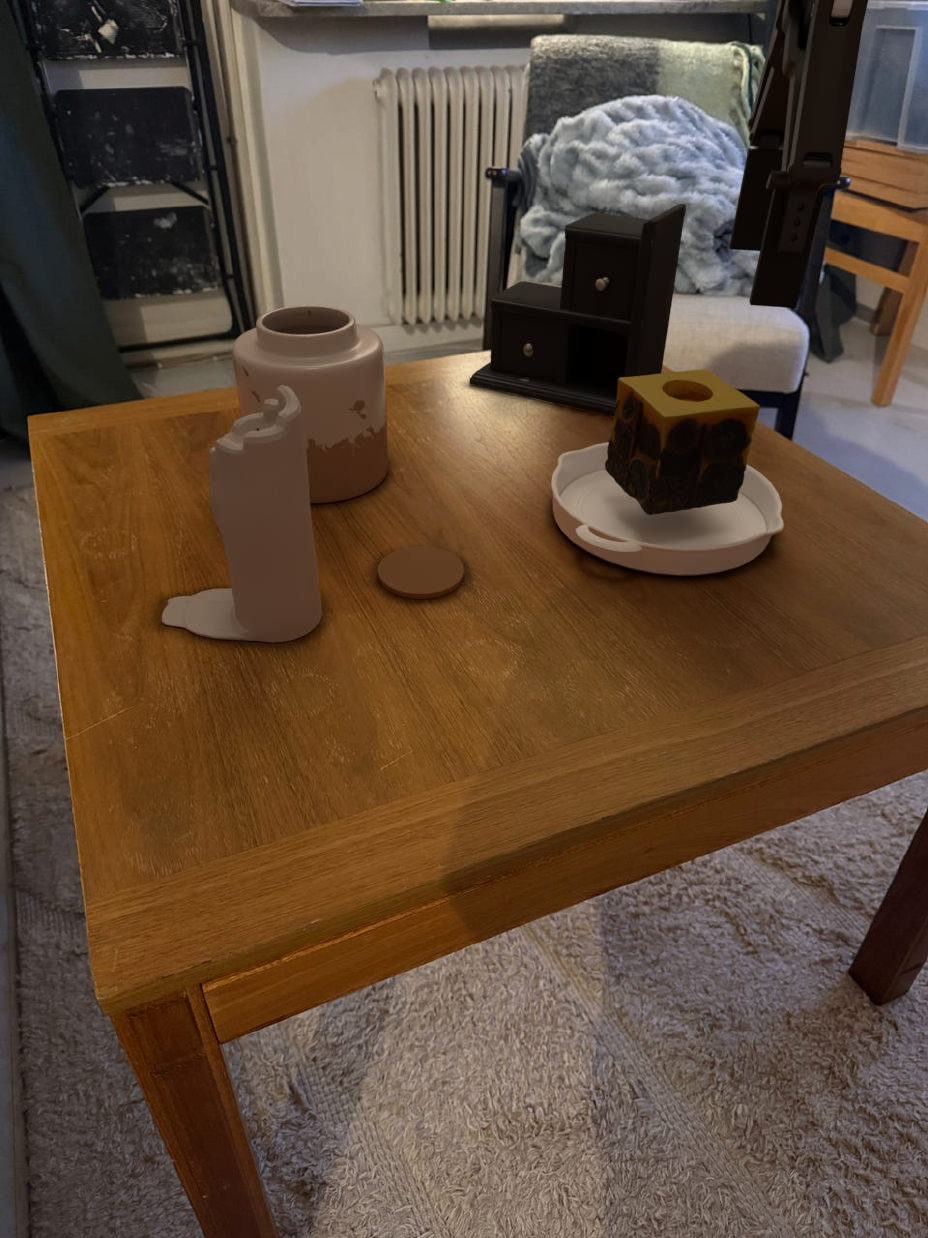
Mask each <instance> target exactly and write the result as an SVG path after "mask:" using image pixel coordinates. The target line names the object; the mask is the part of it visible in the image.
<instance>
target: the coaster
mask: <svg viewBox="0 0 928 1238" xmlns="http://www.w3.org/2000/svg"><path fill="white" fill-rule="evenodd" d="M377 579H378V581H379V583H380V585H381V586H382V588H384V590H386V591H388V592H389V593H391V594H393V595H396V596H397V597H402V598H404V599H410V600H411V599H413V600H428V599H429V600H430V599H435V598H439V597H443V596H446V595H449V594H450V593H452V592H454V591H455V590H457V588H459V587H460V586H461V584H462V583H463V582H464V579H465V566H464V563H463V562H462V560H461V559H460V558H459V557H458V556H457V555H456V554H454V553H453V552H451V551H449V550H447V549H443V548H440V547H436V546H430V545H414V546H413V545H412V546H406V547H402V548H399V549H397V550H394V551H392V552H390V553H388V554H387V555H385V556H384V557H383V558H382V559H381V560H380V562H379V564H378V566H377Z"/></svg>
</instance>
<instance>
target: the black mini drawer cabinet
mask: <svg viewBox="0 0 928 1238" xmlns="http://www.w3.org/2000/svg"><path fill="white" fill-rule="evenodd" d="M686 213H687V204H686V203H679V204H676V205H674V206H672V207H670V208H669V209H666V210H665V211H663V212H661V213H659V214H657V215H656V216H654V217H652V218H641V217H633V216H628V215H627V216H626V215H618V214H610V213H603V212H592V213H590V214H588V215H586V216H584V217H582V218H580V219H577V220H575V221H572V222H570V223H568V224H566V225H565V228H564V239H565V242H564V252H563V265H562V277H561V286H556V285H555V286H554V285H549V284H543V283H537V282H531V281H524V280H521V281H518V282H517V283H515V284H513V285H511V286H510V287H507V288H506V289H504V290H502V291H500V292H498V293H497V294H495V295H492V296H491V298H490V309H491V322H490V324H491V325H490V326H491V327H490V333H491V334H490V362H488V363H486V364H485V365H484V366H482V367H481V368H479V369H478V370H476V371H475V372H474V373H473V374H472V375H471V376H470V377H469V382H468V383H469V385H472V386H475V387H480V388H484V389H489V390H492V391H497V392H498V391H499V392H501V393H507V394H511V395H515V396H520V397H524V398H529V399H534V400H538V401H542V402H546V403H551V404H556V405H559V406H564V407H569V408H574V409H577V410H582V411H586V412H590V413H596V414H601V415H604V416H608V417H612V418H614V413H613V412H614V409H615V405H616V401H617V390H618V379H619V378H620V377H634V376H645V375H653V374H661V373H663V372H662V371H663V365H664V358H665V350H666V345H667V338H668V332H669V331H668V330H669V325H670V318H671V317H670V316H671V312H672V303H673V297H674V292H675V291H674V290H675V285H676V284H675V283H676V276H677V271H678V263H679V256H680V250H681V243H682V242H681V241H682V238H683V237H682V236H683V229H684V223H685V216H686Z"/></svg>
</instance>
